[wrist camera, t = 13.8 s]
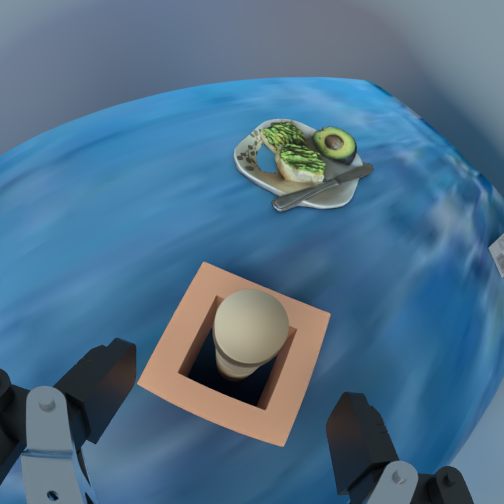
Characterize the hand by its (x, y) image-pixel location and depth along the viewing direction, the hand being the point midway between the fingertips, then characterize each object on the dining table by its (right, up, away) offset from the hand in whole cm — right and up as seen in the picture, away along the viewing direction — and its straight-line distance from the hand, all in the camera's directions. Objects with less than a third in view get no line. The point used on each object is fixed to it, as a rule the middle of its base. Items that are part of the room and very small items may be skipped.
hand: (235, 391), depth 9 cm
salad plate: (+8, +17, +27) cm, 33 cm away
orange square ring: (-1, -4, +12) cm, 13 cm away
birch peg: (-1, -4, +12) cm, 12 cm away
